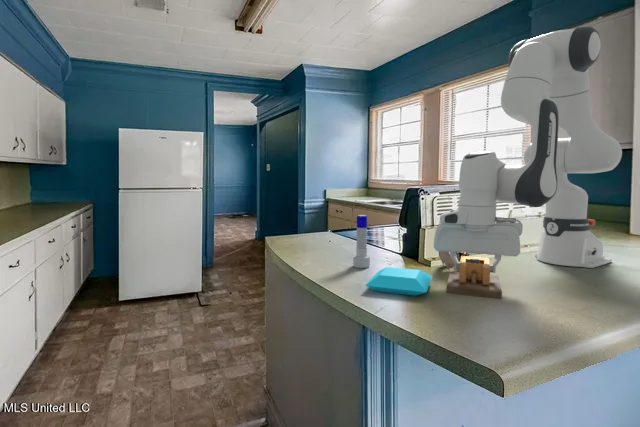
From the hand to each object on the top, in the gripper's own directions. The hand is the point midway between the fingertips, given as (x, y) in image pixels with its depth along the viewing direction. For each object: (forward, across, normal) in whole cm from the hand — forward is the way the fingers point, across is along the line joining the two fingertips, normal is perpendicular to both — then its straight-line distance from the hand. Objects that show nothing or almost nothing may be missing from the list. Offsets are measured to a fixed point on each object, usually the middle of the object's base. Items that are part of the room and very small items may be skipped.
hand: (474, 270), depth 99 cm
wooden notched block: (+2, 0, 0) cm, 2 cm away
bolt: (+4, +32, -8) cm, 33 cm away
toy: (+4, +6, -16) cm, 17 cm away
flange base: (+4, 0, +2) cm, 4 cm away
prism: (+4, +17, +10) cm, 20 cm away
